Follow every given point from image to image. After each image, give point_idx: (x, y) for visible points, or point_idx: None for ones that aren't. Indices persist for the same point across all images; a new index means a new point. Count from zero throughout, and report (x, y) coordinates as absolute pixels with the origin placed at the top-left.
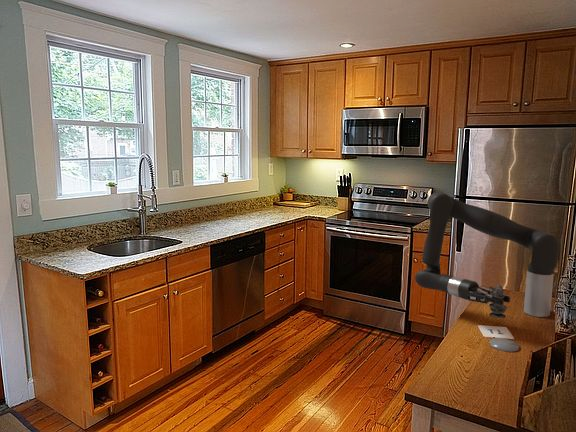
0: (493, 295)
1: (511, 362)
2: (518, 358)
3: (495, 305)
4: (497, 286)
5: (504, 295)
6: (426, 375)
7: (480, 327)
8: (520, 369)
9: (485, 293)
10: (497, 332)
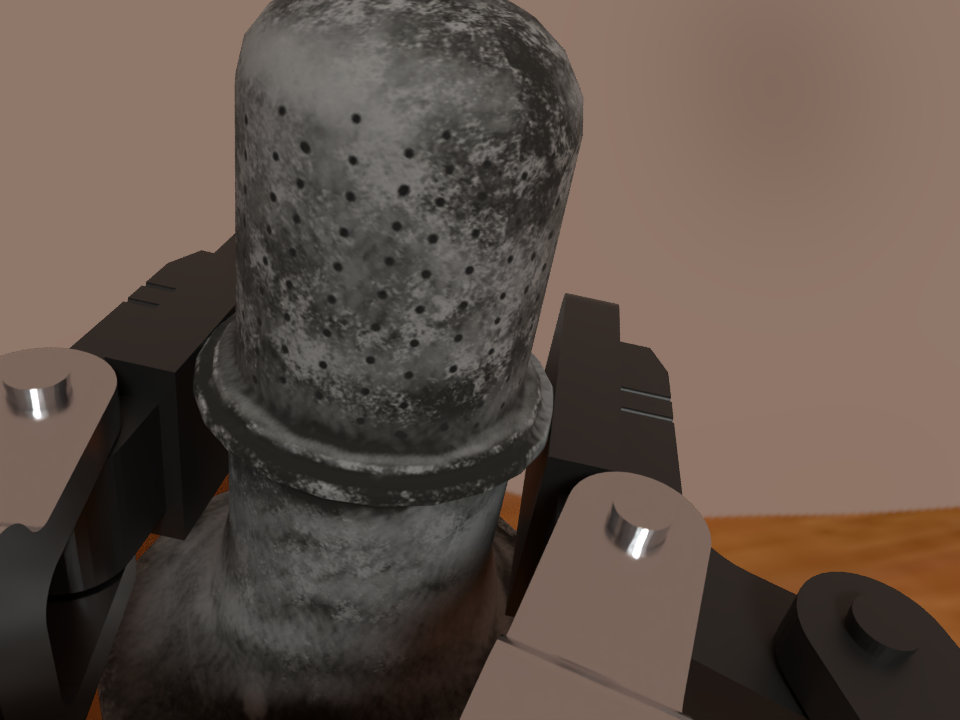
0: (451, 481)
1: (936, 570)
2: (813, 545)
3: (501, 612)
4: (475, 5)
5: (229, 281)
6: None
7: None
8: (952, 507)
9: (681, 714)
10: None
